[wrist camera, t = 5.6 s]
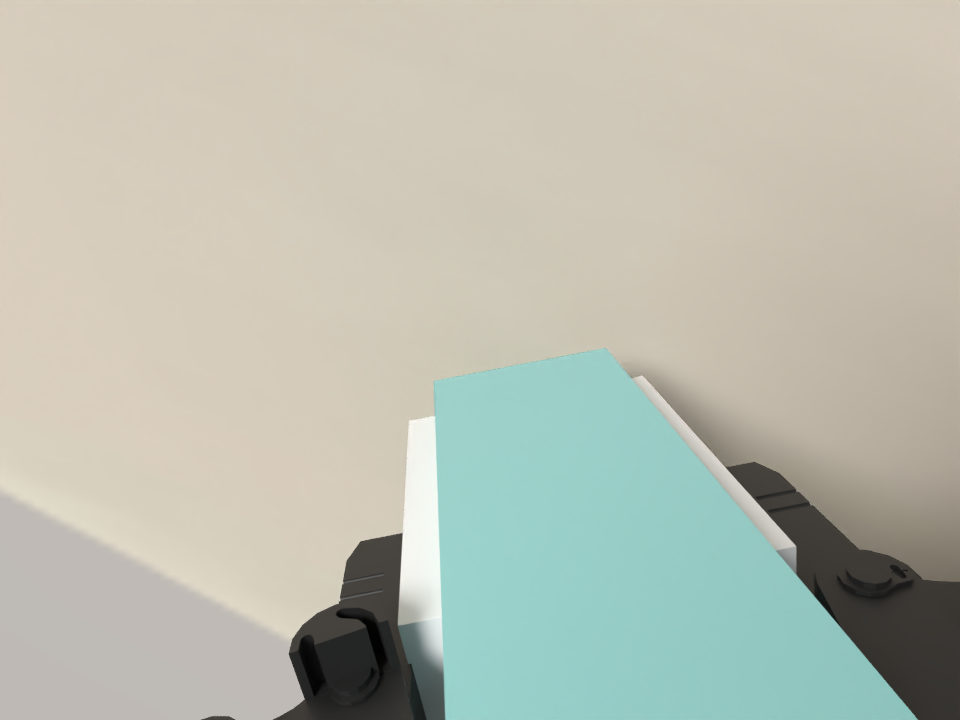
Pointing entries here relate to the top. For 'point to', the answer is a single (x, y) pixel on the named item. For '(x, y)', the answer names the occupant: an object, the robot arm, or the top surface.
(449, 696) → the teal cube-topped l-bracket
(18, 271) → the top surface
